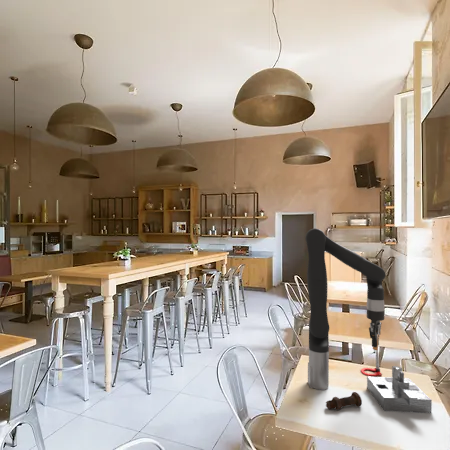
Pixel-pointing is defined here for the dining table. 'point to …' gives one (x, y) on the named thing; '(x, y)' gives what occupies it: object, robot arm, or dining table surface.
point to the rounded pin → (376, 347)
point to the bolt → (344, 401)
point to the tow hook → (376, 370)
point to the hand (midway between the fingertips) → (375, 345)
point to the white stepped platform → (398, 393)
